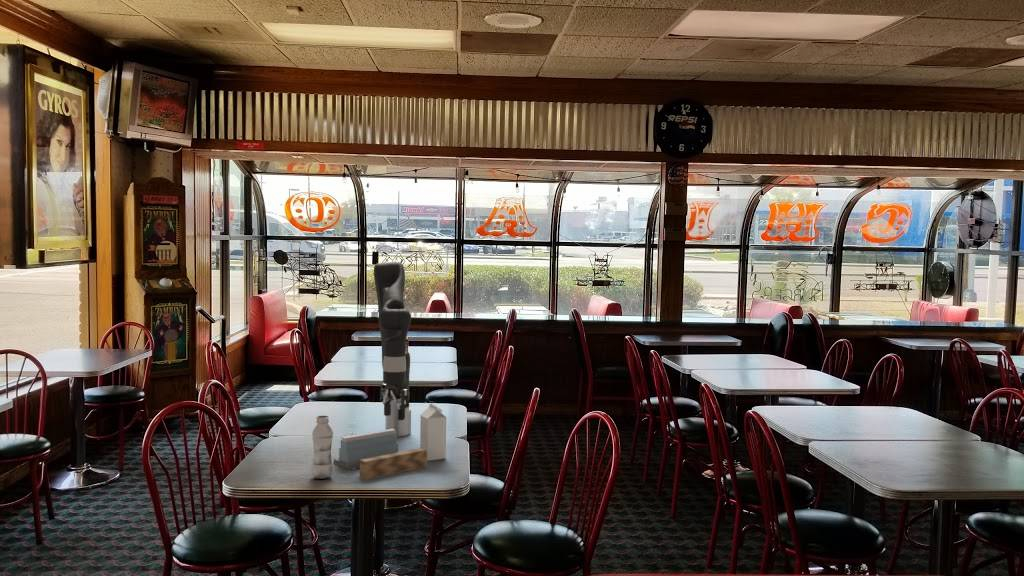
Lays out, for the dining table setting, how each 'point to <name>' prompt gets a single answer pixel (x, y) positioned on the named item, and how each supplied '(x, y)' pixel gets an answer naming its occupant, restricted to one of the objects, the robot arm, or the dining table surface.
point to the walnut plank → (393, 463)
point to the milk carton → (433, 433)
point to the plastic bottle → (322, 448)
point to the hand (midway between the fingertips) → (394, 417)
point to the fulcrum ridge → (366, 447)
